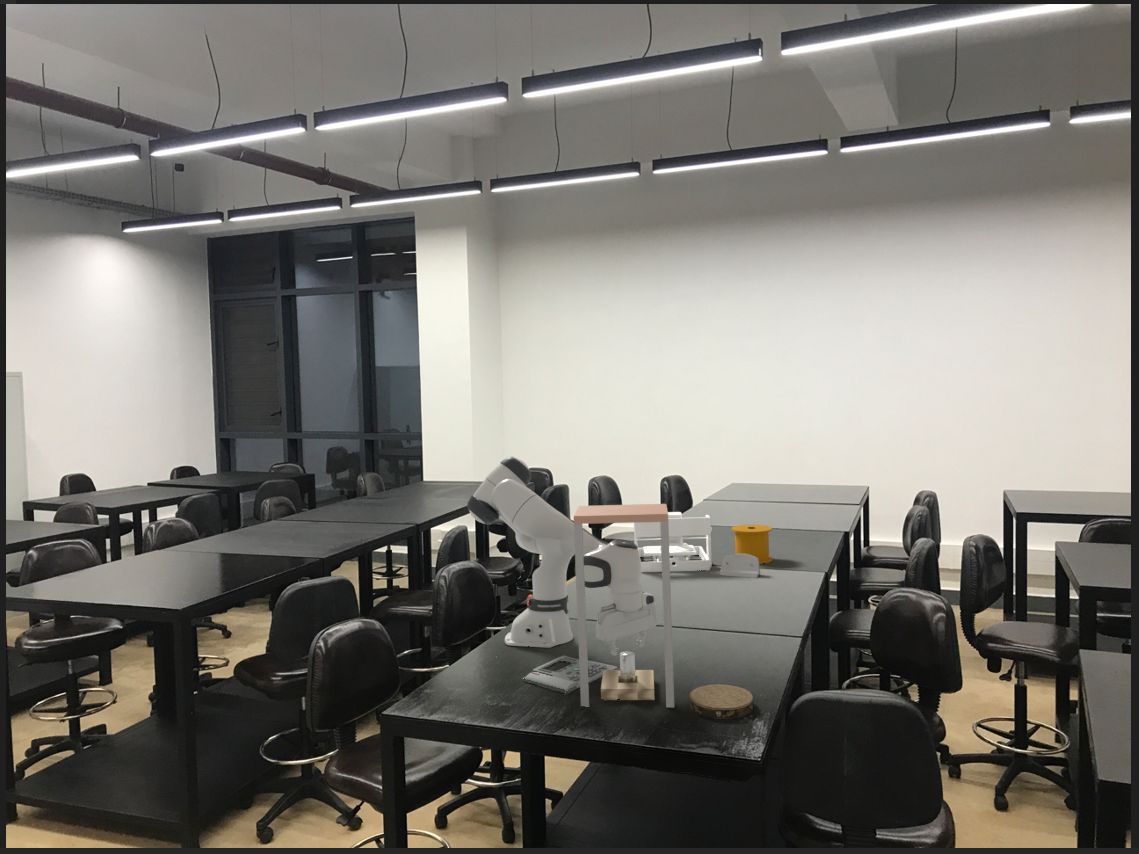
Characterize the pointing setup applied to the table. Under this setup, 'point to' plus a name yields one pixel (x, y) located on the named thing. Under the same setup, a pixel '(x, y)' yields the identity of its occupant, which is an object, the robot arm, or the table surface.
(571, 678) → the office telephone
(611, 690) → the socket block
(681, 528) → the 3d printer
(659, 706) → the table surface
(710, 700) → the wood slice
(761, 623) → the table surface
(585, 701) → the pink-topped arch frame
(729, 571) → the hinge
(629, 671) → the peg
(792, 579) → the table surface
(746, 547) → the spool
